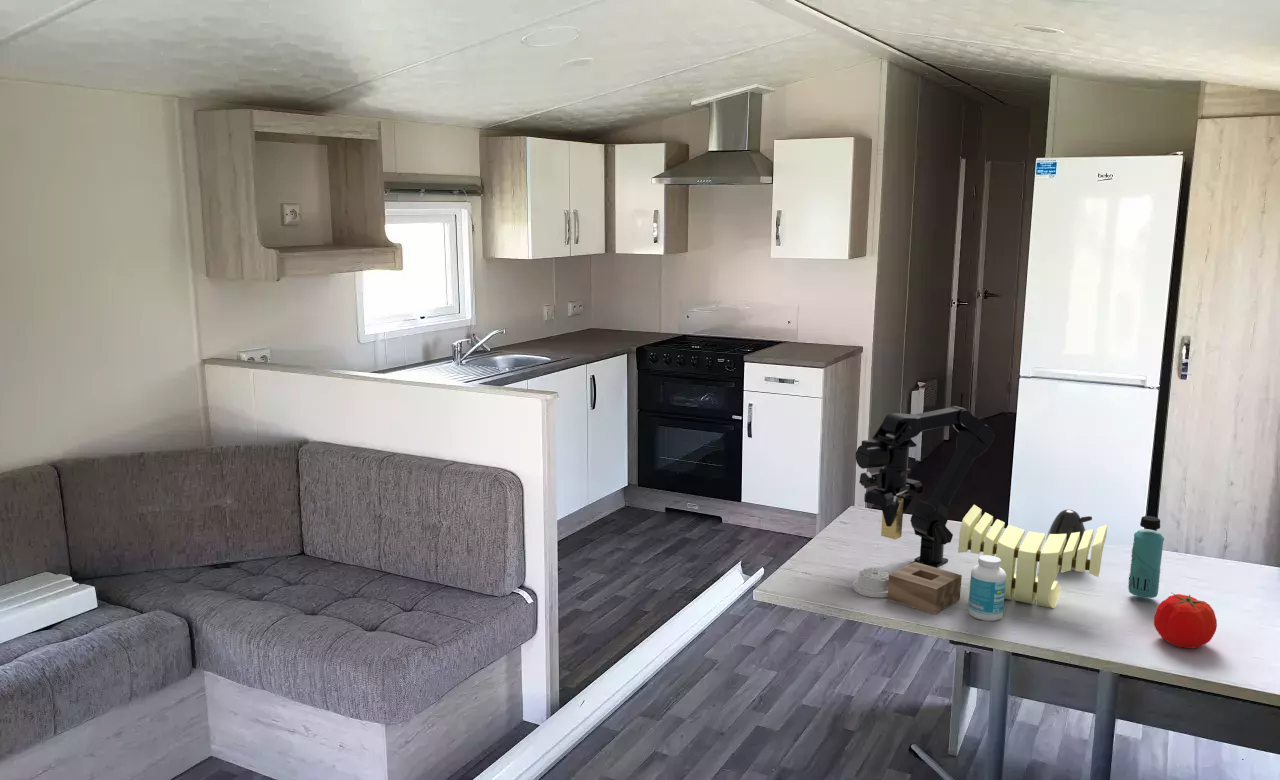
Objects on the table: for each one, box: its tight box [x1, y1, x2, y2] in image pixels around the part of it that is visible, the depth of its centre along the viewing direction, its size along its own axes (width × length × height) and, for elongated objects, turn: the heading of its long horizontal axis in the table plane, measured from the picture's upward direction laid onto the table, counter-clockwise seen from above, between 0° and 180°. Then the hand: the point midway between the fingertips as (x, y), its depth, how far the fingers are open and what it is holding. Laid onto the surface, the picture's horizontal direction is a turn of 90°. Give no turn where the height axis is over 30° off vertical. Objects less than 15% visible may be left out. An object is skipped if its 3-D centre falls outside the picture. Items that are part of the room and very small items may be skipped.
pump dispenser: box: [1044, 509, 1093, 571], centre depth 246 cm, size 10×10×15 cm
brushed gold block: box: [880, 497, 904, 540], centre depth 243 cm, size 3×4×10 cm
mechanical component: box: [852, 567, 891, 599], centre depth 231 cm, size 10×4×10 cm
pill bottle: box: [967, 554, 1006, 622], centre depth 216 cm, size 8×7×14 cm
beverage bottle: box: [1128, 515, 1165, 599], centre depth 225 cm, size 6×7×20 cm
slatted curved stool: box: [957, 504, 1108, 609], centre depth 227 cm, size 30×16×18 cm, turn 60°
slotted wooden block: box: [887, 561, 963, 615], centre depth 225 cm, size 12×12×6 cm
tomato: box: [1153, 592, 1218, 649], centre depth 203 cm, size 12×12×10 cm
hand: (892, 524), depth 243 cm, fingers closed on brushed gold block, 3 cm apart
